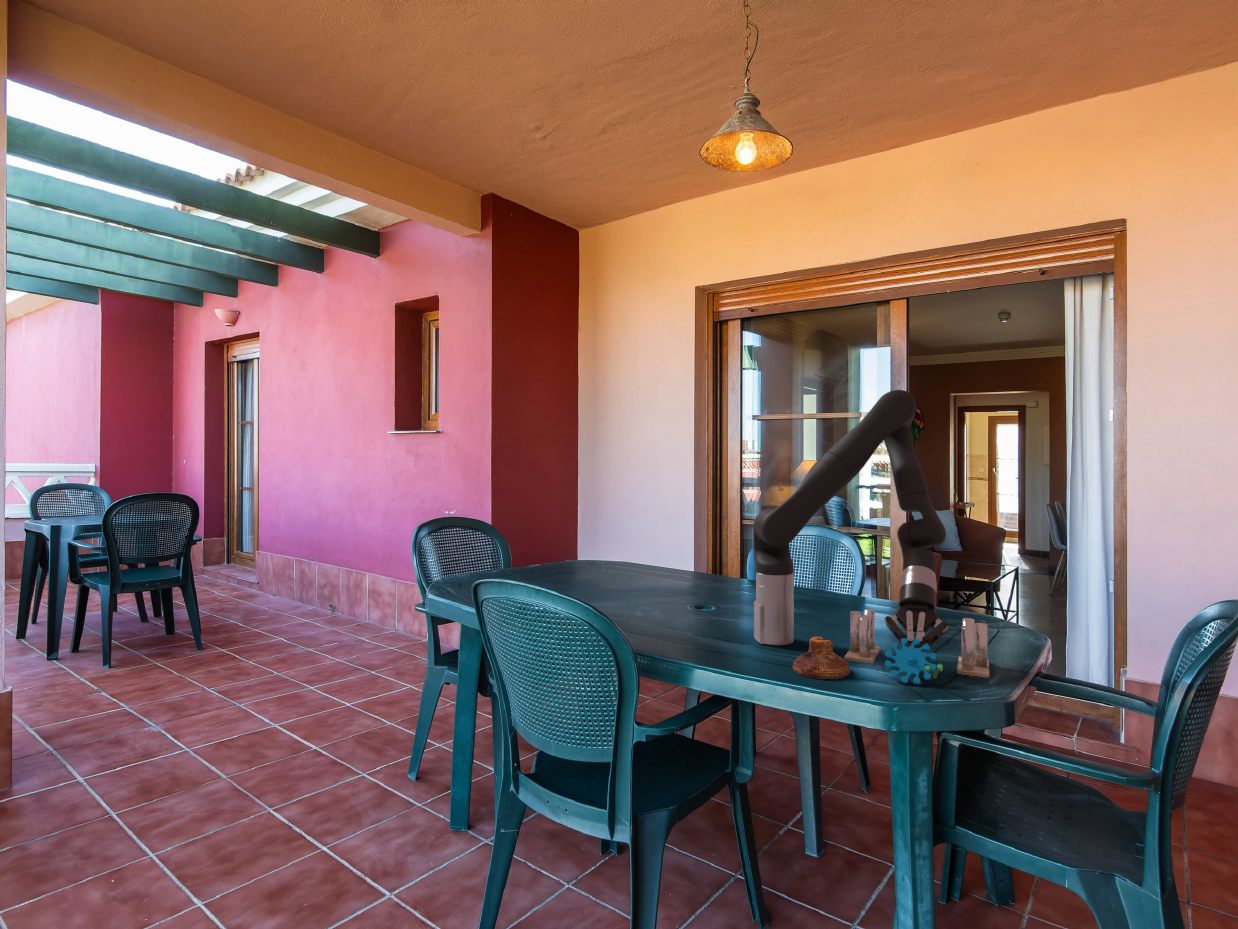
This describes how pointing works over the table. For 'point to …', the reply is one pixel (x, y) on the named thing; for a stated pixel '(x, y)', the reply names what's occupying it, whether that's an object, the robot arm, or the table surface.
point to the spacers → (971, 638)
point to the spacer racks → (976, 672)
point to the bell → (821, 661)
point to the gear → (912, 661)
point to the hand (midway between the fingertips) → (913, 660)
